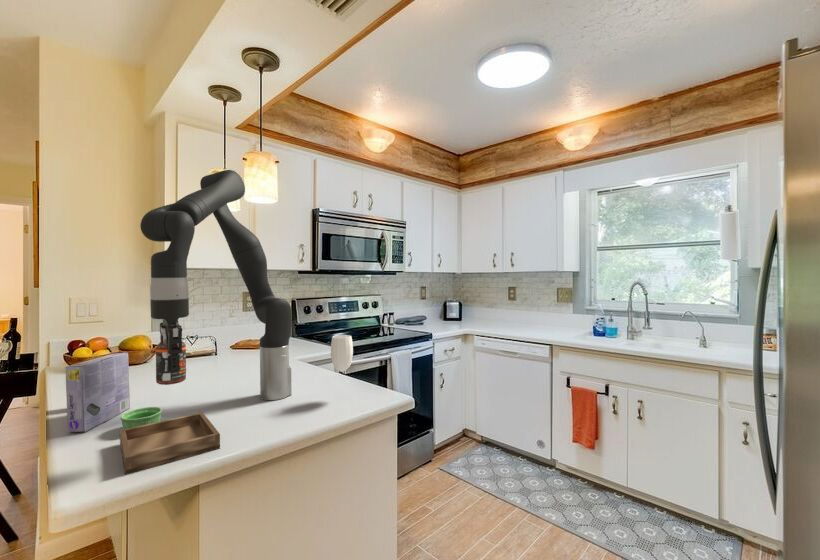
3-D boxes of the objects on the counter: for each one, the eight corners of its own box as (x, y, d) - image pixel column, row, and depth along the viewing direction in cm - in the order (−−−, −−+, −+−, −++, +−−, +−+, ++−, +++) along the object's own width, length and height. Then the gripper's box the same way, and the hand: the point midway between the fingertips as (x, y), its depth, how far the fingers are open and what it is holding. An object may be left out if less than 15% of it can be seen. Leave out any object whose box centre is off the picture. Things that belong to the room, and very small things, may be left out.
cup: (342, 393, 129) (342, 333, 129) (357, 397, 125) (357, 335, 125) (326, 399, 124) (325, 336, 123) (341, 404, 119) (341, 339, 119)
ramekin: (116, 438, 95) (115, 421, 95) (126, 425, 103) (126, 409, 103) (158, 432, 98) (157, 416, 98) (165, 420, 107) (164, 404, 107)
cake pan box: (116, 407, 116) (115, 350, 116) (133, 407, 117) (132, 350, 116) (64, 434, 97) (63, 366, 97) (85, 433, 98) (83, 366, 97)
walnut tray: (202, 424, 103) (202, 412, 103) (220, 448, 89) (219, 433, 89) (120, 444, 92) (119, 430, 91) (125, 474, 78) (124, 458, 78)
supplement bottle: (171, 386, 84) (170, 336, 84) (149, 385, 86) (148, 335, 85) (192, 378, 90) (191, 332, 90) (171, 377, 91) (170, 331, 91)
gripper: (194, 298, 84) (196, 372, 85) (182, 295, 95) (183, 360, 96) (154, 299, 80) (156, 378, 80) (146, 296, 90) (148, 365, 91)
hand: (171, 368), depth 88 cm, fingers closed on supplement bottle, 6 cm apart
